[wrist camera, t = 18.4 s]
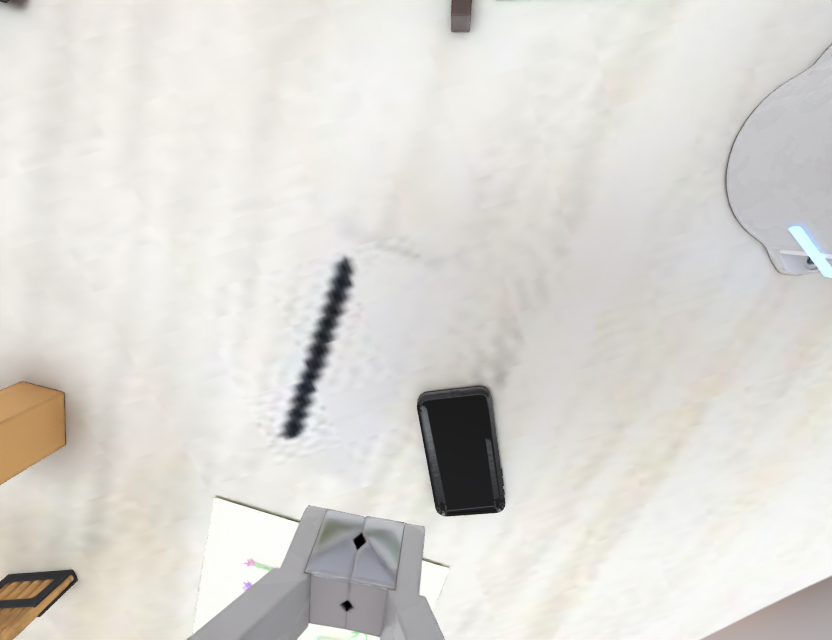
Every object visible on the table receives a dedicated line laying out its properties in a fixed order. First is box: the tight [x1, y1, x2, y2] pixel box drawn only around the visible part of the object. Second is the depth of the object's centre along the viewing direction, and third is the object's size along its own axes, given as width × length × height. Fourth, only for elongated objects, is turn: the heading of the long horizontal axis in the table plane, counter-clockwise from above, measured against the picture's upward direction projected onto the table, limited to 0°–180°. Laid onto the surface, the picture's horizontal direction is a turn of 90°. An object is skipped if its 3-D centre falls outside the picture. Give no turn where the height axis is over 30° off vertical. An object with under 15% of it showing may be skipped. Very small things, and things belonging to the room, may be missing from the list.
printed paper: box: [192, 497, 450, 640], centre depth 52 cm, size 30×30×2 cm
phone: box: [417, 386, 505, 516], centre depth 43 cm, size 8×1×15 cm
